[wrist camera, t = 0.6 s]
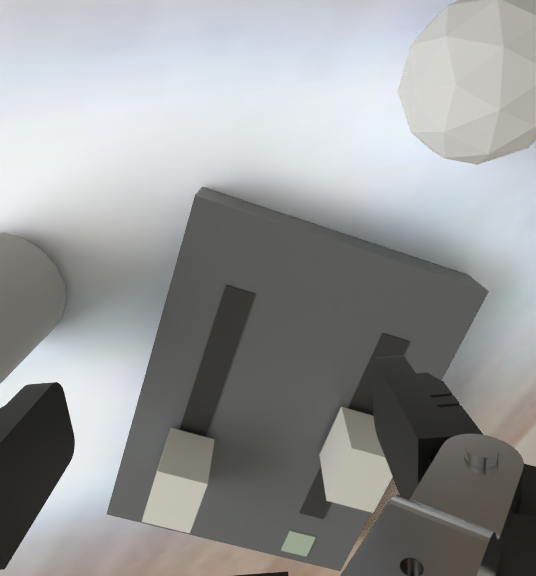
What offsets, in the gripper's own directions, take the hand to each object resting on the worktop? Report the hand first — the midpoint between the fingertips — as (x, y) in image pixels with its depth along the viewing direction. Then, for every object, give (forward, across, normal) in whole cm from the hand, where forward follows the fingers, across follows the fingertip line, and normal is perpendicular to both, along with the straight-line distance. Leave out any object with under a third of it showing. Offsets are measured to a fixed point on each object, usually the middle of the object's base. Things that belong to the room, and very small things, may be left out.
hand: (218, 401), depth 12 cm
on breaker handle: (+16, +5, +13) cm, 22 cm away
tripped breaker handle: (+16, -6, +13) cm, 21 cm away
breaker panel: (+20, -1, +10) cm, 22 cm away
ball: (+18, -13, -8) cm, 24 cm away
